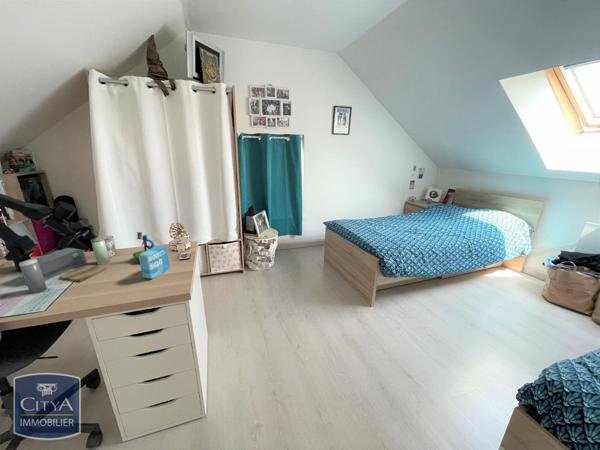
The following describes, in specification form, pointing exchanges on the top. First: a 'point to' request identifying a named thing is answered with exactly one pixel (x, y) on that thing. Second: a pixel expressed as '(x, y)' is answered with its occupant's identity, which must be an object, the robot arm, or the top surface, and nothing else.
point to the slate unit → (61, 262)
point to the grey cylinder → (33, 276)
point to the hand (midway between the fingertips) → (94, 245)
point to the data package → (154, 262)
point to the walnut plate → (82, 273)
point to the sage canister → (100, 250)
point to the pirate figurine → (144, 238)
